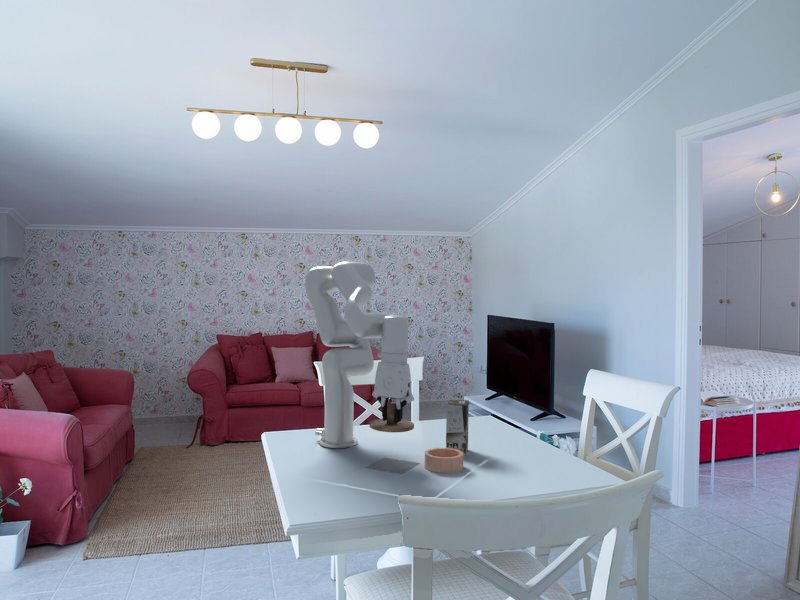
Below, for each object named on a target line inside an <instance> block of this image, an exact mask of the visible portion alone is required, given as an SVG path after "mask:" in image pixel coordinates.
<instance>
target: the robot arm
mask: <svg viewBox="0 0 800 600" xmlns="http://www.w3.org/2000/svg"><path fill="white" fill-rule="evenodd" d="M375 280H376V272H375V270H374V268H373V267H372V265H370V264H369V263H367V262H361V261H360V262H359V261H341V262H338V263H336V264H335V265H334V266H315V267H312V268H311V269H309V270H308V271H307V272H306V275H305V280H304V281H305V282H304V287H305V294H306V296H307V298H308V301H309V304H310V305H311V308H312V310H313V312H314V317H315V320H316V325H317V329H318V330H317V331H318V334H319V337H320V340H321V342H322V344H323V345H325V347H332V349H329V350H327V351H326V352H325V353H324V354H323V356H322V359H321V365H322V371H323V377H324V378H323V379H324V424H323V425H324V428H319V427H317V428H316V430H315V436H321V438H320V439H319V445H320V446H322V447H324V448H330V449H347V448H351V447H354V446H356V445H358V444H359V439H357V438H356V437H354V403H355V402H354V401H355V400H354V399H355V395H354V394H355V390H354V387H353V385H352V383H351V382H350V380H349V379H348V377H349V378H350V377H357V376H366V375H369V374H371V372H372V371H373V369H374V363H375V362H374V355H373V351H372V348H371V343H370V340H369V339H381V350H380V352H378V353H377V358H379V359H380V361H378V363H377V367H376V372H375V378H374V387H373V388H374V389H373V391H372V394H371V396H372V397H373V398H375V399H376V400H377V401H378V402H379V404H380V407H381V417H382V419H383V421H386V420H387V403H388V402H390V399H395V403H396V405H397V409H395V419H394V422H395V423H398V422H400V421H401V419H403V414H404V413H403V412H404V411H403V409H404V408H405V407H406V406H407V404H409V403H412V402H413V401H415V397H414V394H413V393H412V377H411V368H410V363H408V343H409V319H408V317H406V316H405V315H396V314H394V313H392V312H363V311H362V310H361V308H362V307H364V306H365V305H368V303H369V302H370V301H371V299H372V296H373V290H372V286H373V285H374V282H375ZM329 292H340V293H341V295H342V296H343V297H344V299H345V300H346V302H345V305H344V317H345V318H344V317H343V316H342V314H341V311H340V307H339V304H338V303H337V302H336V300H335V298H333V297H332V296H331V295H330V294H329ZM333 347H334V348H333ZM336 347H338V348H336ZM339 347H340V348H339Z"/></svg>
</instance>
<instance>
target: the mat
mask: <svg viewBox="0 0 800 600" xmlns="http://www.w3.org/2000/svg"><path fill="white" fill-rule="evenodd" d="M420 464H421V463H420V462H417V461H415V462H414V461H408V460H403V459H402V460H401V459H396V458H389V457H382V458H381V459H379V460H377V461H375V462H373V463H370V464H369V465H367V466H365V467H364V468H365V469H369V470H376V471H382V472H387V473H393V474H399V475H403V474H405V473H406V472H408V471H410V470H411V469H413V468H415V467H417V466H418V465H420Z"/></svg>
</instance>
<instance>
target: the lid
mask: <svg viewBox="0 0 800 600" xmlns="http://www.w3.org/2000/svg"><path fill="white" fill-rule="evenodd" d="M395 409H397V405H396V401H395V402H394V401H389V402H388V403H387V420H386V421H383V418H377V419H372V420H371V421H369V423H368V424H369V426H368V427H369V428H370V429H371V430H374V431H377V432H383V433H405V432H410V431H412V430H414V429H415V423H414V422H412V421H410V420H407V419H403V418H402V419H401V421H400V422H398V423H395V422H394V419H395Z"/></svg>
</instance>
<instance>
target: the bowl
mask: <svg viewBox="0 0 800 600" xmlns="http://www.w3.org/2000/svg"><path fill="white" fill-rule="evenodd" d="M423 455H424V458H423V459H424V461H423V462H424V465H423V466H424V469H425V470H428V471H430V472H433V473H439V474H452V473H453V474H454V473H458V472H461V471H462V470H464V457H465V456H464V454H463V452H462V451H459V450H456V449H450V448H446V447H434V448H433V447H432V448H428V449H427V450H425V451H424V454H423Z"/></svg>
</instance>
